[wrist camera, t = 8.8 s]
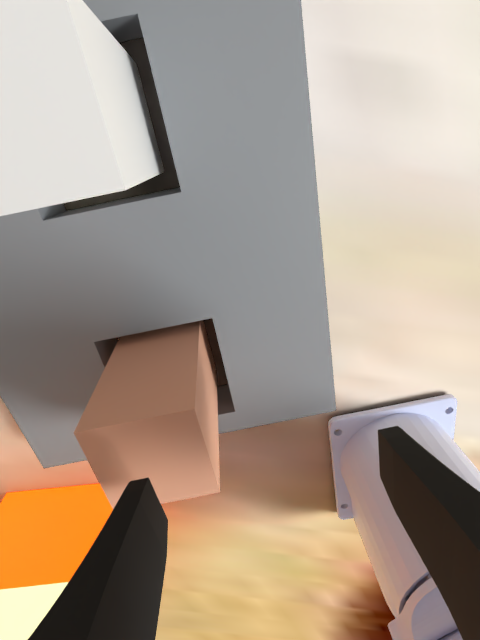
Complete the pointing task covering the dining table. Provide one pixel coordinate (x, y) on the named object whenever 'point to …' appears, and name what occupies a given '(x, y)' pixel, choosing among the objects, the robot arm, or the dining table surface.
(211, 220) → the socket board
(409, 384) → the dining table surface
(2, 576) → the orange juice
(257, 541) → the dining table surface
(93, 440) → the peg
